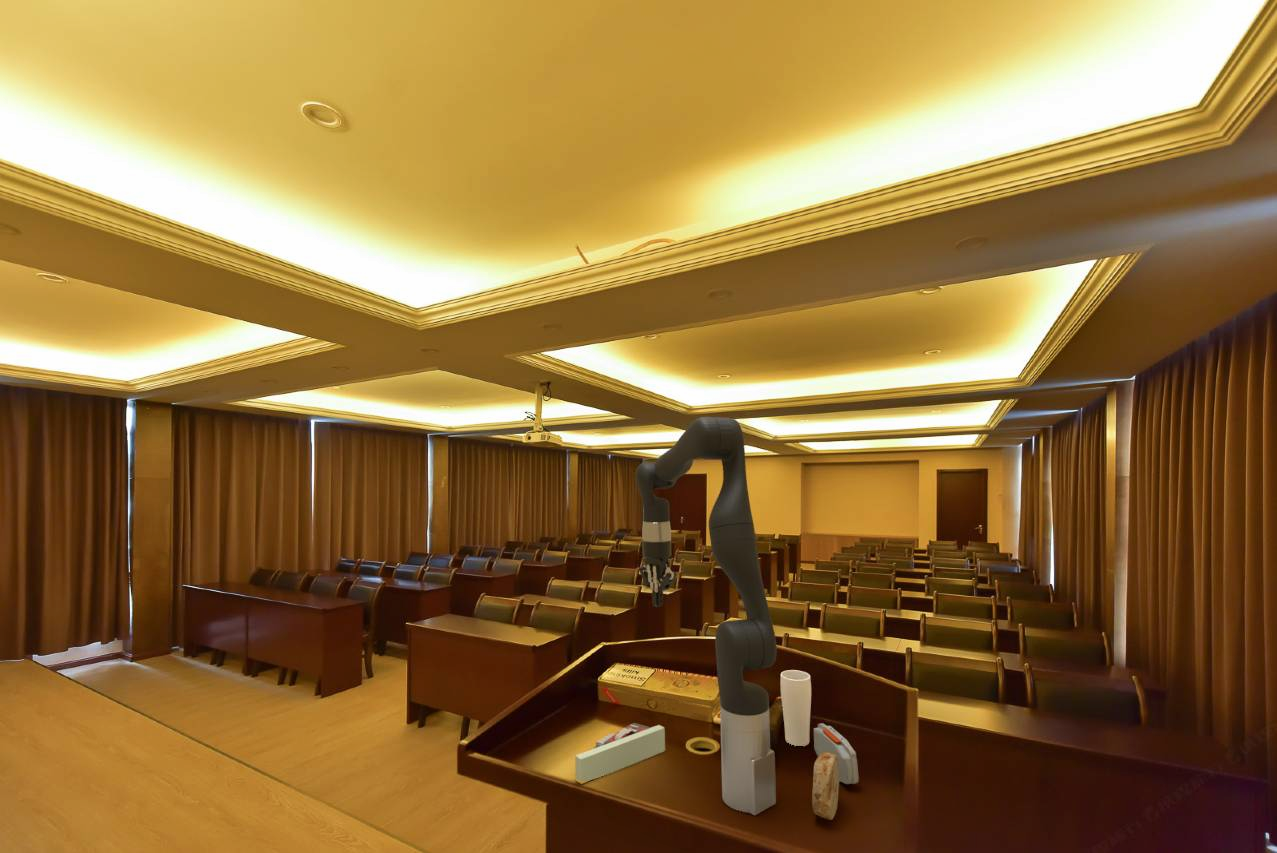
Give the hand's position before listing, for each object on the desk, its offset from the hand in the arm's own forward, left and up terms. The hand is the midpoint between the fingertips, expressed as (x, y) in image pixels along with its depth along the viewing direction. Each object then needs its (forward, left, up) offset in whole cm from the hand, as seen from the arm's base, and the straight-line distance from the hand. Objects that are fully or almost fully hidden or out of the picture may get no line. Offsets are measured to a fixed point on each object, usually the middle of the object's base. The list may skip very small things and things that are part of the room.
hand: (657, 605), depth 151 cm
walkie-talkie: (-9, +20, -28) cm, 35 cm away
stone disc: (-52, +4, -27) cm, 59 cm away
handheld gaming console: (-45, -9, -27) cm, 54 cm away
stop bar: (-15, +23, -27) cm, 38 cm away
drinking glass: (-32, -14, -27) cm, 44 cm away
